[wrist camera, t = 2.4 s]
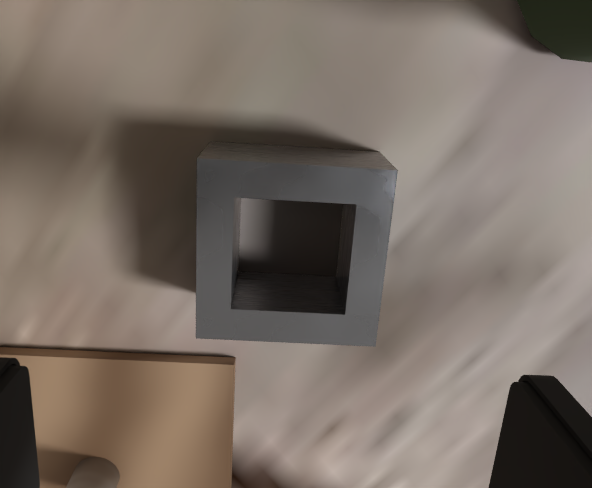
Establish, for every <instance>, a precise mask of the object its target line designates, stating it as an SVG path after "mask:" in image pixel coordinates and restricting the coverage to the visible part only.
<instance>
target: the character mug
mask: <svg viewBox="0 0 592 488" xmlns="http://www.w3.org/2000/svg"><path fill="white" fill-rule="evenodd" d="M517 2H518V4H519V6H520V9H521V11H522V14H523V16H524V19H525V21H526V24H527V26H528V29H529V31H530V34H531V36H532V37H534V38H535V39H536V40H538V41H539V42H540V43H542V44H543V45H544V46H546V47H547V48H548V49H550V50H551V51H552V52H554V53H555V54H556V55H557V56H559V57H560V58H561V59H568V60H576V61H585V62H592V0H517Z"/></svg>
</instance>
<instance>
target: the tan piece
mask: <svg viewBox="0 0 592 488" xmlns="http://www.w3.org/2000/svg"><path fill="white" fill-rule="evenodd" d="M0 357H7V358H16V359H18V361H19V363H20V366H26V367H27V368H28V370H29V376H30V386H31V396H32V406H33V417H34V427H35V437H36V447H37V457H38V468H39V478H40V488H231V479H232V449H233V418H234V388H235V357H213V356H190V355H168V354H146V353H124V352H101V351H79V350H57V349H34V348H12V347H0Z"/></svg>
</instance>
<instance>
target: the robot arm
mask: <svg viewBox="0 0 592 488" xmlns="http://www.w3.org/2000/svg"><path fill="white" fill-rule="evenodd" d="M0 488H40V478H39V468H38V457H37V447H36V437H35V427H34V417H33V406H32V396H31V386H30V376H29V370H28V368H27V367H26V366H20V363H19V361H18V359H16V358H7V357H0ZM489 488H592V417H591V416H590V415H589V414H588V413H587V412H586V410H585V409H584V408H583V407H582V406H581V405H580V404H579V403H578V402H577V401H576V399H575V398H574V397H573V396H572V395H571V394H570V393H569V392H568V391H567V389H566V388H565V387H564V386H563V385H562V384H561V383H560V382H559V381H558V379H556V378H555V377H554V376H542V375H523V376H521V378H520V379H519V381H518V382H514V383H512V385H511V387H510V390H509V395H508V399H507V404H506V409H505V414H504V418H503V423H502V428H501V432H500V437H499V442H498V446H497V451H496V456H495V461H494V465H493V470H492V475H491V479H490V484H489Z"/></svg>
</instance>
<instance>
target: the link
mask: <svg viewBox="0 0 592 488" xmlns="http://www.w3.org/2000/svg"><path fill="white" fill-rule="evenodd" d="M397 171H398V170H397V169H396V168H395V167H394V166H393V165H392V164H391V163H390V162H389V161H388V160H387V159H386V158H385V157H384V156H383V155H382V154H381V153H380V152H375V151H359V150H343V149H326V148H310V147H294V146H278V145H261V144H245V143H229V142H212V141H211V142H210V143H209V144H208V145H207V146H206V148H205V149H204V150H203V151H202V153H201V154H200V155H199V156H198V158H197V228H196V338H201V339H223V340H245V341H267V342H288V343H310V344H332V345H353V346H375V345H376V337H377V329H378V322H379V314H380V306H381V298H382V290H383V282H384V274H385V266H386V258H387V250H388V242H389V235H390V227H391V219H392V211H393V203H394V195H395V187H396V179H397ZM241 198H254V199H271V200H289V201H306V202H324V203H341V204H343V209H342V220H341V230H340V241H339V251H338V261H337V272H336V276H318V275H299V274H279V273H260V272H240V271H238V267H239V237H240V207H241Z"/></svg>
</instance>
